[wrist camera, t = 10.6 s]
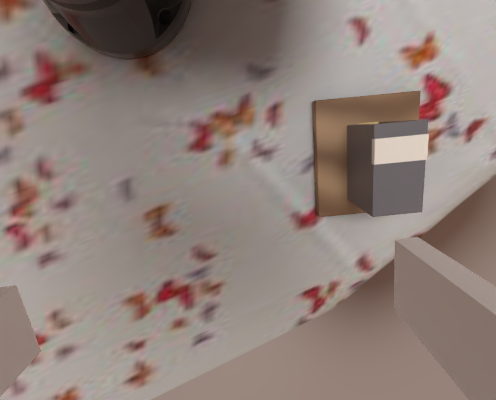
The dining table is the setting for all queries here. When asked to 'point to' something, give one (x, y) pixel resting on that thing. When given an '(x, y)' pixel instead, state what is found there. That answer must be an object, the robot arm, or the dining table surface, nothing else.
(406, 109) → the board
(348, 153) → the block
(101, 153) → the dining table surface
